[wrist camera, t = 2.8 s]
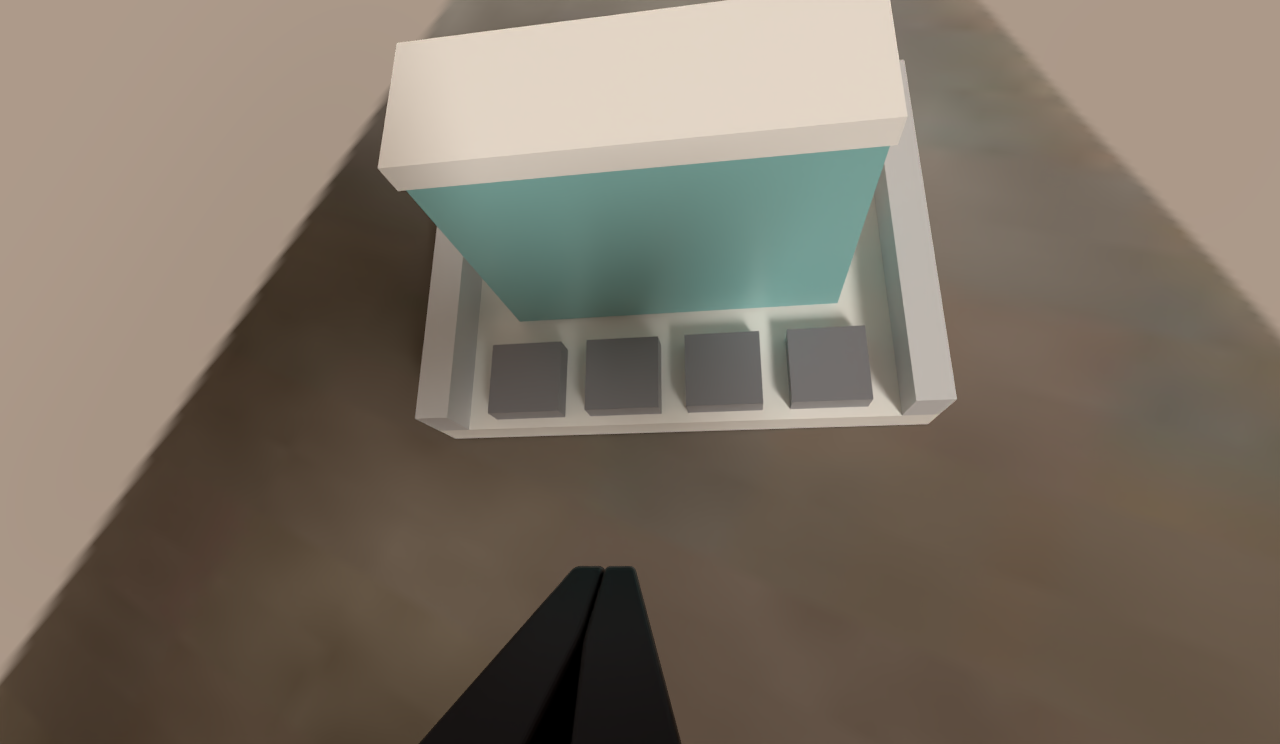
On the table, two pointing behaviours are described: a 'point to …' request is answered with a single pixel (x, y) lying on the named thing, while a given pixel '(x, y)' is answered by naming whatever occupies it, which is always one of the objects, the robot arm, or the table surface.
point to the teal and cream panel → (653, 153)
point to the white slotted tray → (704, 347)
